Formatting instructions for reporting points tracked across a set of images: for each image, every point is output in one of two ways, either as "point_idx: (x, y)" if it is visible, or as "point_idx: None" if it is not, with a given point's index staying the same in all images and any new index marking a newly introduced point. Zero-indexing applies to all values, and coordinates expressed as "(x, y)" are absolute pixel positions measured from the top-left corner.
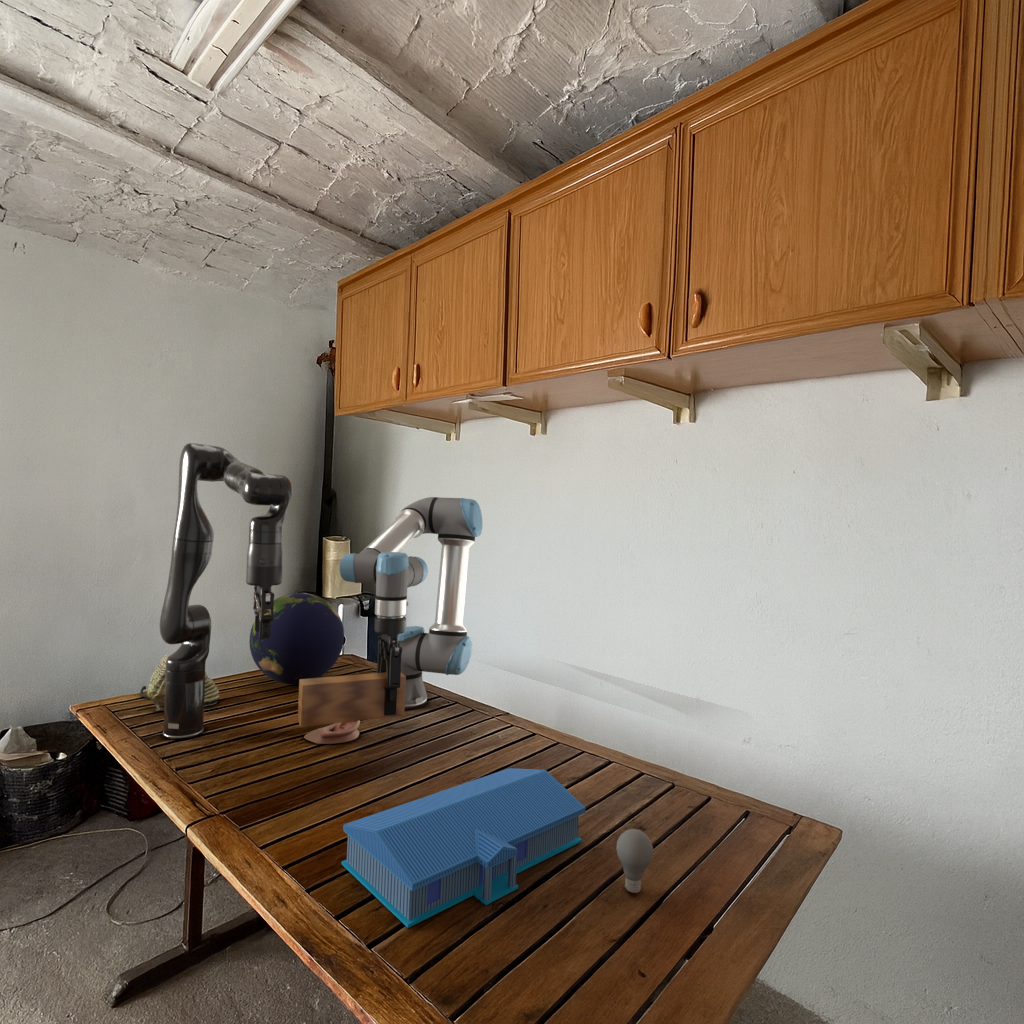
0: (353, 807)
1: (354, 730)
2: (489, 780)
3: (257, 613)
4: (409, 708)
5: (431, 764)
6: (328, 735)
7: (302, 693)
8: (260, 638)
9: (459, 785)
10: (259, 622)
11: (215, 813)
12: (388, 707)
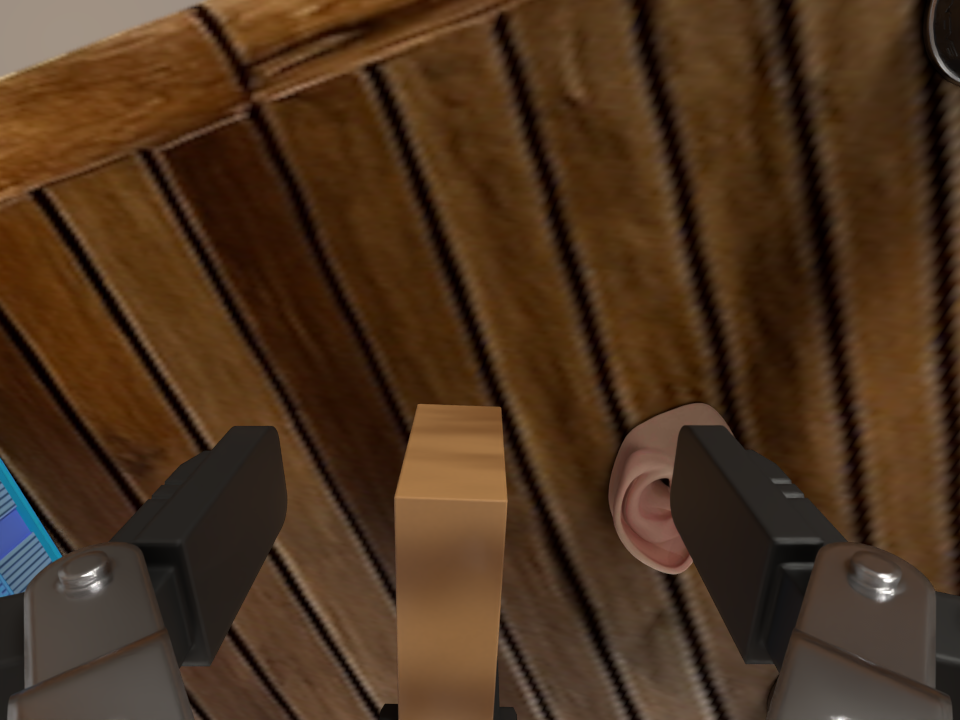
0: (199, 427)
1: (621, 539)
2: None
3: (796, 593)
4: (770, 697)
5: (380, 633)
6: (623, 468)
7: (400, 475)
8: (234, 430)
9: None
10: (719, 522)
11: (255, 90)
12: None
